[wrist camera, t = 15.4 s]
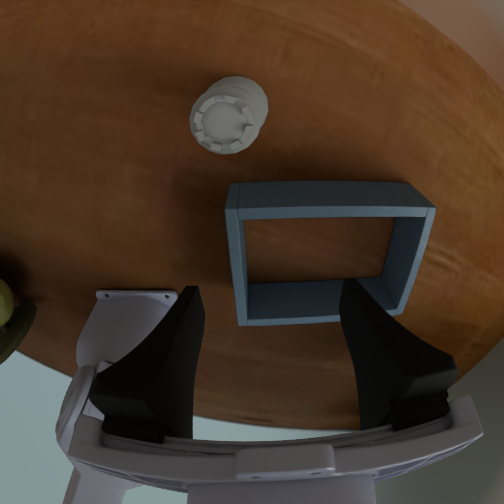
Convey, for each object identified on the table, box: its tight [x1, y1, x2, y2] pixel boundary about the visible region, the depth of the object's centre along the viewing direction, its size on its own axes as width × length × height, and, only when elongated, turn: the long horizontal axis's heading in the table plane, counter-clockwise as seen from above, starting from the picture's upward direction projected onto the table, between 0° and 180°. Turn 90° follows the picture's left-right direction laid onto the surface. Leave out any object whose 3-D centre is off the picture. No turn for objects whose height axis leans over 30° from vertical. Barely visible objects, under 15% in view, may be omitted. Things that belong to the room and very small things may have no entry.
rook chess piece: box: [189, 76, 268, 154], centre depth 14 cm, size 4×4×8 cm
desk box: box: [224, 181, 436, 326], centre depth 22 cm, size 15×11×4 cm
